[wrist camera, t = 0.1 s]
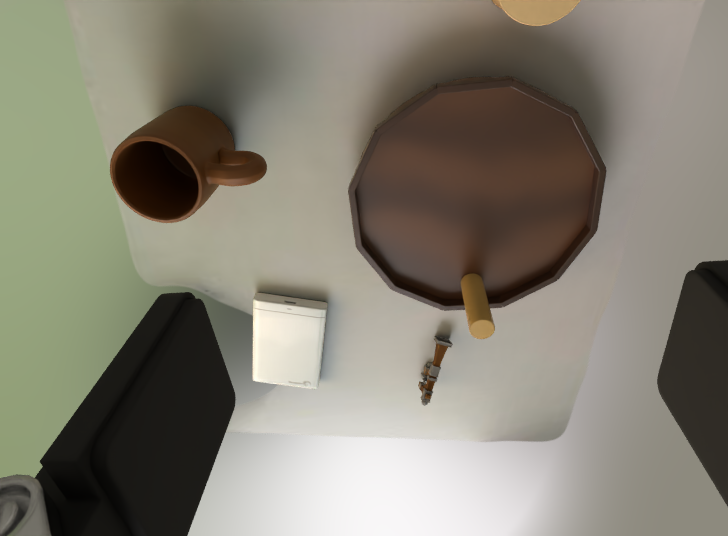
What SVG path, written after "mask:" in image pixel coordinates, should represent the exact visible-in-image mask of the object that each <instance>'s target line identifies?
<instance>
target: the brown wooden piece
mask: <svg viewBox="0 0 728 536" xmlns="http://www.w3.org/2000/svg"><path fill="white" fill-rule="evenodd" d="M434 340H435V341H436V350H435V356H434V360H433V363H428V364H427V366H426V365H425V368H424V372H423V373H422V375H423V377H424V378H423V380H424V381H427V383H426V382H424V383H423V382H419V385H418V386H419V389H420V390H421V391H422V396H421V400H422V405H427V404H428V403H430V399H431V396H432V393H433V392H432V389H433V386H434V383H435V382H437V378H436V377H438V374H439V370H440V364H441V361H442V359H443V357H444V354H445V352H446V350H447V348H448V347H451V346H452V345H453V344H452V343H451V342H450V340H448V339H444V338H440V337H437V336H435V339H434ZM427 378H428V380H427Z"/></svg>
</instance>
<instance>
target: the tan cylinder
mask: <svg viewBox="0 0 728 536" xmlns="http://www.w3.org/2000/svg"><path fill="white" fill-rule="evenodd" d="M492 1H493V3H494V4H495V5H497V6H498V7H499V8H501V9H503V10H504V11H505V12H506V14H507V15H508V16H510V17H511V18H512V19H514V20H515V21H517V22H519V23H522V24H525V25H530V26H541V25H547V24H550V23H553V22H555V21H557V20H559V19H561V18H562V17H564V16H565V15H567V14H568V13H569V12H571V11H572V10H573V9H574V8H575V7H576V5H577V4H578V3H579V2H580V1H581V0H492Z"/></svg>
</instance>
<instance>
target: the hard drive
mask: <svg viewBox="0 0 728 536" xmlns="http://www.w3.org/2000/svg"><path fill="white" fill-rule="evenodd" d="M326 313H327V303H325V302H321V301H314V300H307V299H299V298H292V297H286V296H278V295H272V294H265V293H256V294H255V296H254V298H253V380H254V381H258V382H265V383H272V384H280V385H287V386H295V387H303V388H311V389H317V388H318V386H319V379H320V370H321V361H322V352H323V342H324V332H325V323H326Z"/></svg>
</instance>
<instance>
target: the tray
mask: <svg viewBox="0 0 728 536" xmlns="http://www.w3.org/2000/svg"><path fill="white" fill-rule="evenodd" d="M605 176H606V167H605V165H604V163H603V161H602V159H601V157H600V155H599V153H598V151H597V149H596V147H595V145H594V143H593V141H592V139H591V137H590V135H589V133H588V131H587V129H586V127H585V125H584V123H583V121H582V120H581V118H580V116H579V114H578V112H577V111H576V110H575V109H574V108H573V107H571V106H569V105H567V104H565V103H563V102H561V101H559V100H557V99H555V98H553V97H551V96H550V95H548V94H546V93H545V92H543V91H541V90H540V89H537V88H535V87H533V86H530V85H528V84H525V83H523V82H521V81H519V80H517V79H515V78H513V77H510V76H505V77H470V78H464V79H458V80H453V81H450V82H446V83H437V84H436V85H433V86H431V87H430V88H429V89H427V90H425V91H423V92H421V93H419V94H418V95H416V96H414V97H413V98H411V99H410V100H408V101H406V102H405V103H403V104H402V105H401V106H400V107H399V108H397V109H396V110H395V111H394V112H392V113H391V114H390V115H389V116H388V117H387V119H385V120H384V121H382V122H381V123H380V124H378V125H377V127H375V129H374V131H373V134H372V136H371V138H370V140H369V142H368V144H367V146H366V148H365V150H364V151H363V154H362V156H361V159H360V162H359V164H358V167H357V169H356V171H355V173H354V176H353V178H352V180H351V182H350V185H349V190H348V193H349V200H350V207H351V215H352V222H353V229H354V237H355V244H356V247H357V249H358V250H359V252H360V253H361V254H362V255H363V256H364V258H365V259H366V260H367V261H368V262H369V264H370V265H371V266H372V267H373V268H374V270H375V271H376V272H377V273H378V274H379V276H380V277H381V278H382V279H383V280H384V282H385V283H386V284H387V285H388V286H389V288H390V289H392V290H393V291H395V292H398V293H400V294H403V295H405V296H408V297H410V298H413V299H415V300H418V301H420V302H423V303H425V304H428V305H430V306H433V307H435V308H438V309H440V310H444V311H447V310H466V315H467V321H468V326H469V331H470V334H471V335H472V336H473V337H475V338H477V339H485V338H488V337H490V336H491V335H492V334H493V333H494V330H495V326H494V322H493V318H492V314H491V311H490V308H502V307H505V306H507V305H509V304H511V303H513V302H515V301H517V300H519V299H521V298H523V297H525V296H527V295H529V294H531V293H533V292H535V291H537V290H539V289H541V288H543V287H545V286H547V285H549V284H551V283H553V282H555V281H557V279H559V278H560V277H561V276H562V274H563V273H564V272H565V271H566V269H567V268H568V267H569V266H570V264H571V263H572V262H573V261H574V259H575V258H576V257H577V256H578V254H579V253H580V252H581V251H582V249H583V248H584V247H585V246H586V244H587V243H588V242H589V241H590V239H591V238H592V237H593V236H594V234H595V233H596V231H597V228H598V221H599V215H600V208H601V202H602V195H603V189H604V182H605Z"/></svg>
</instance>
